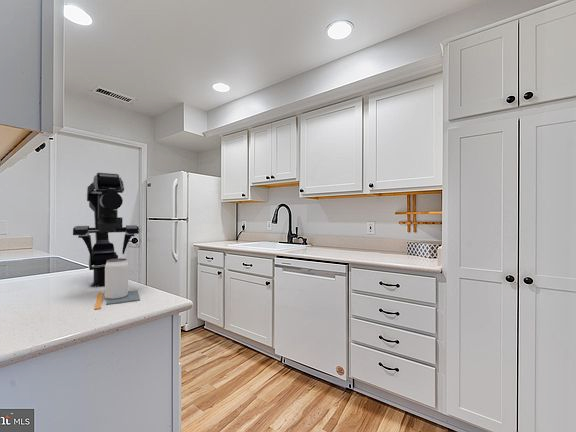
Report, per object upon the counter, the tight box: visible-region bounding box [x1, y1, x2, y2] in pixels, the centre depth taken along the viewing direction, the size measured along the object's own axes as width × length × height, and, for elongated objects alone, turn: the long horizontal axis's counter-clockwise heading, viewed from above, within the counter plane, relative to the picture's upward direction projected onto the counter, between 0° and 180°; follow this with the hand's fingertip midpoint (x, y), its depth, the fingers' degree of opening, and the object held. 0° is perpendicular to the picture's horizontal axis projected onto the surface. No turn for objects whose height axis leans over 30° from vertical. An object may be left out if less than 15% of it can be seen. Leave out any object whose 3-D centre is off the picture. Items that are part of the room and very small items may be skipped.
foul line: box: [93, 291, 104, 311], centre depth 89 cm, size 18×2×1 cm, turn 31°
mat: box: [105, 289, 141, 306], centre depth 92 cm, size 12×9×1 cm
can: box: [104, 257, 129, 300], centre depth 92 cm, size 6×6×12 cm
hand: (107, 255), depth 98 cm, fingers open, 9 cm apart
